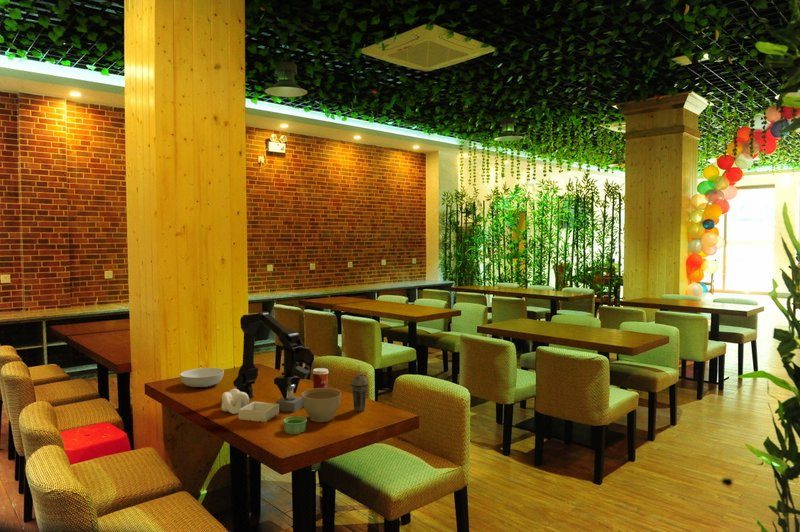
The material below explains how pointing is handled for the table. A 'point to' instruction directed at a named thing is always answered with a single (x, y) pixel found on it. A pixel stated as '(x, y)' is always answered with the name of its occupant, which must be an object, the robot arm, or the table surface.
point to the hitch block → (290, 404)
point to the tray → (258, 411)
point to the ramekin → (295, 424)
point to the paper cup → (320, 377)
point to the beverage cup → (359, 391)
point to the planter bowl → (321, 403)
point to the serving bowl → (202, 377)
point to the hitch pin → (290, 392)
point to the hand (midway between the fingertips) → (289, 395)
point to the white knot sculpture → (234, 401)
